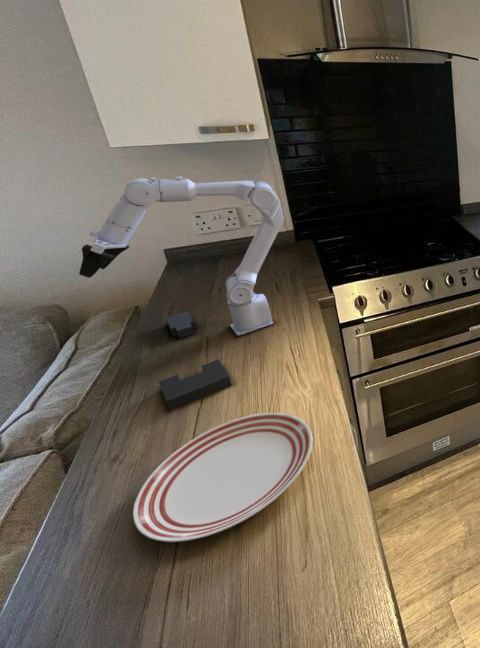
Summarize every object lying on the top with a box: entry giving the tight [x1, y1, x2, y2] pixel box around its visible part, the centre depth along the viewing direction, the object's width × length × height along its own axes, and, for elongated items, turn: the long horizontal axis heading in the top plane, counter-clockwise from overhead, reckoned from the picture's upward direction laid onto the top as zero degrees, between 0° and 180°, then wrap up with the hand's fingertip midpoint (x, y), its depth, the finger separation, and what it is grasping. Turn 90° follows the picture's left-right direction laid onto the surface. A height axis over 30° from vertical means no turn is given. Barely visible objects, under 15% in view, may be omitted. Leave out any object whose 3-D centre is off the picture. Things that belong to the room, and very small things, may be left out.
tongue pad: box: [164, 310, 197, 339], centre depth 129 cm, size 5×12×3 cm, turn 47°
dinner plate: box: [132, 412, 314, 543], centre depth 81 cm, size 28×27×3 cm
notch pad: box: [158, 359, 233, 411], centre depth 105 cm, size 12×10×2 cm
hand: (92, 271), depth 107 cm, fingers open, 7 cm apart
